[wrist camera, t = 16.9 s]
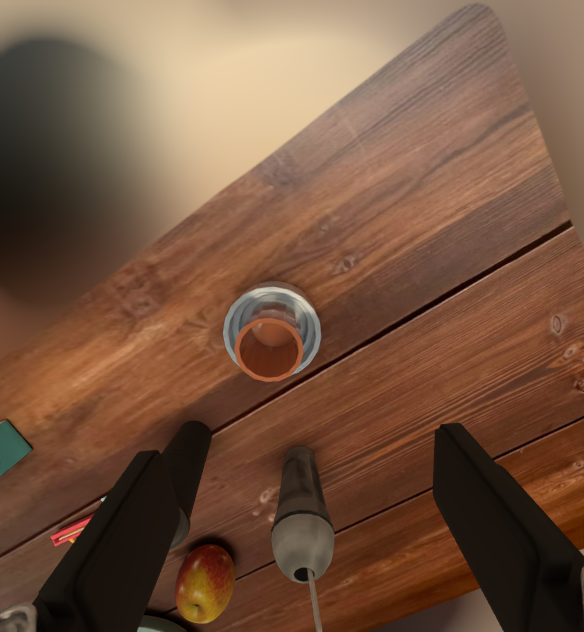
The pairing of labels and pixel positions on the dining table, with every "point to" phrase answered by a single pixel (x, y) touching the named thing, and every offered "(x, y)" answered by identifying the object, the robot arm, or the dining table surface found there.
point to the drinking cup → (186, 470)
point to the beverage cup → (302, 524)
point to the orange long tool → (71, 530)
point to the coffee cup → (270, 341)
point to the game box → (11, 447)
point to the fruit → (205, 583)
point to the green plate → (158, 625)
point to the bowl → (282, 292)
